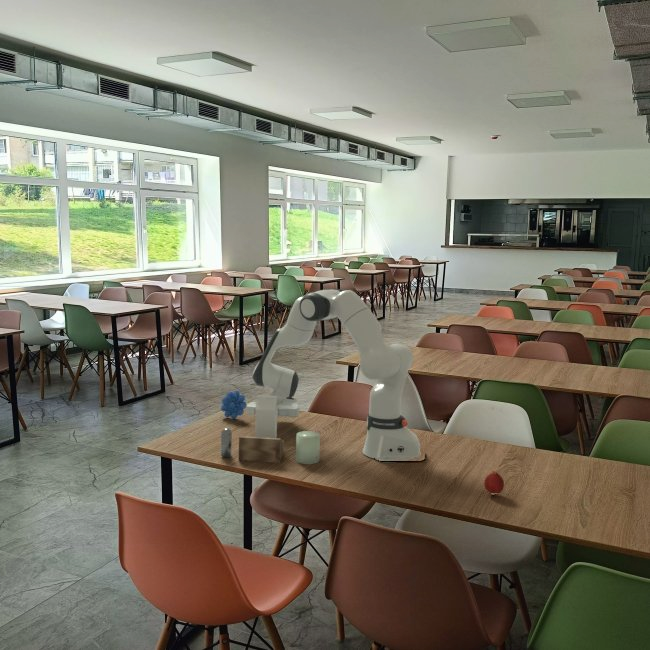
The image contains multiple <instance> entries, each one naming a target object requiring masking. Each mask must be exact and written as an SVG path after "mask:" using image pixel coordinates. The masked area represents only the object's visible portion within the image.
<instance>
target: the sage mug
mask: <svg viewBox="0 0 650 650" xmlns="http://www.w3.org/2000/svg"><path fill="white" fill-rule="evenodd" d="M320 434H321V433H318V432H316V431H313V430H303V431H298V432H297V433H296V434H295V435H296V437H295V439H296V440H295V461H296V462H297V463H299V464H303V465H312V464H313V465H314V464H316V463H318V462H320V445H321V444H320V443H321V435H320Z"/></svg>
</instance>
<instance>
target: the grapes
mask: <svg viewBox="0 0 650 650" xmlns="http://www.w3.org/2000/svg"><path fill="white" fill-rule="evenodd" d="M245 400H246V396H245V395H244V394H240V391H239V390H235V391H233V392H232V391H228V392H227V393H226V395H225V396H223V398H222V399H221V403H222V405H221V406H220V410H221V411H222V412H224V417H225V418H229V417H230V419H232V420H236V419H237V418H238V416H239V417H240V416H242V415H244V412H245V411H244V410H246V406H247V405H248V403H247V402H246V401H245Z"/></svg>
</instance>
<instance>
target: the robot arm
mask: <svg viewBox="0 0 650 650" xmlns="http://www.w3.org/2000/svg"><path fill="white" fill-rule="evenodd" d="M335 318H338V319H339V321H340V322H341V324H342V326H343V327H344V329H346V331H347V333H348V335H349V336H350V337H351V339H352V340H353V342H354V344H355V346H356V348H357V350H358V354H359V357H360V360H359V361H360V362H359V369H360V371H361V373H362V375H363V376H364V377H365V379H368V380H373V381H374V380H375V382H374V384H373V387H372V388H371V390H370V393H369V406H368V407H369V409H368V414H367V417H366V429H367V432H366V437H365V441H364V446H363V449H362V451H361V452H362V453H363V455H365V456H366V457H369V458H371V459H374V458H375V459H374V460H377V461H378V460H379V461H378V462H380V461H394V460H409V459H414V457H419V456H420V455H421V452H420V447H421V443H420V439H419V438H418V437H419V436H417V434H415V433H414V432H413V431H412V430H410V429H409V428H408V427H407V426H408V424H409V423H408V420H407V419H406V418H405V416H404V415H402V414H401V405H402V396H403V390H404V386H405V383H406V380H407V376H408V373H409V370H410V368H411V367H412V366H413V364H414V363H413V362H414V354H413V351H412V349H410V348H409V346H407V345H405V344H402V343H401V344H400V343H391V344H387V343H386V342H385V340H384V338H383V335H382V330H383V327H382V325H381V323H380V321H379V320H378V319H377V317H376V316H375V315H374V313H373V312H372V310H371V309H370V308H369V306H368V305H367V304H366V302H365V301H364V300H363V299H362V298H361V296H359V294H357V293H356V292H355V291H353V290H351V289H346V290H344V289H340V288H332V289H321V290H317V291H315V292H309V293H307V294H306V295H304V296H300V297H298V298H297V299H295V301H294V303H293V305H292V307H291V309H290V311H289V314H288V317H287V321H286V323H285V324H284V326H282V327H281V328H280V327H279V328H277V329H276V330H275V331H274V333H273V335H272V337H271V338H270V340H269V342H268V343H267V345H266V348H265V350H264V352H263V354H262V356H261V357H260V360H259V361H258V363H257V364H256V365H255V367H254V369H253V371H252V380H253V382H254V383H255V384H256V386H259V387H260V386H261V387H263V388H264V387H266V388H268V389H271V391H270V393H268V395H267V396H277V418H281V417H282V418H294V419H295V418H299V411H300V405H299V404H300V403H298V399H297V398H293V397H294V396H295V394H296V392H297V388H298V386H299V376H298V373H297V372H296V371H295V370H294V369H293V370H292V369H290V368H287V367H283V366H280V365H278V364H275V363H272V359H273V357H274V355H275V353H276V351H277V350H278V349H280V348H283V347H297V346H302V345H305V344H307V343H308V342H309V341H310V340H311V339H312V337H313V334H314V331H315V329H316V325H317V322H319V321H325V320H332V319H335ZM255 409H256V401H251V402H249V403H247V406H246V408H245V414H246V415H247V416H255ZM408 458H409V459H408Z"/></svg>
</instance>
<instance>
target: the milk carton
mask: <svg viewBox="0 0 650 650" xmlns="http://www.w3.org/2000/svg"><path fill="white" fill-rule="evenodd" d="M255 402H256V409H255V415H254V417H255V418H254V419H255V421H254V437H266V438H278V437H277V435H278V433H277V431H278V430H277V429H278V417H277V396H268V395H257V396H256V401H255Z"/></svg>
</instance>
